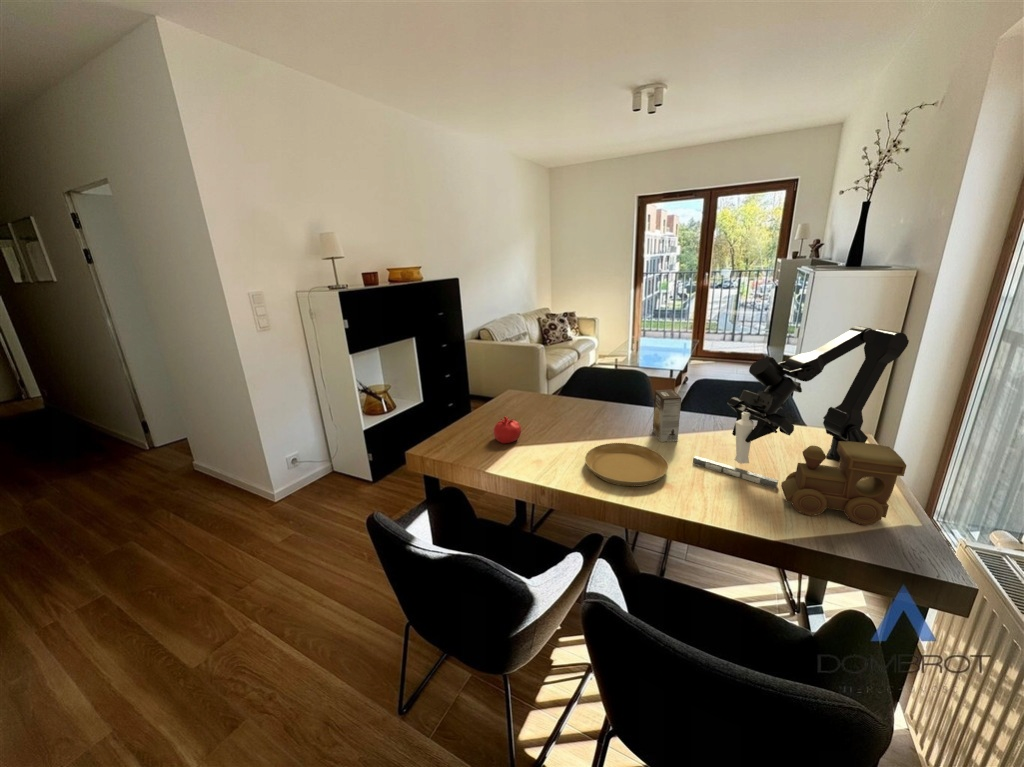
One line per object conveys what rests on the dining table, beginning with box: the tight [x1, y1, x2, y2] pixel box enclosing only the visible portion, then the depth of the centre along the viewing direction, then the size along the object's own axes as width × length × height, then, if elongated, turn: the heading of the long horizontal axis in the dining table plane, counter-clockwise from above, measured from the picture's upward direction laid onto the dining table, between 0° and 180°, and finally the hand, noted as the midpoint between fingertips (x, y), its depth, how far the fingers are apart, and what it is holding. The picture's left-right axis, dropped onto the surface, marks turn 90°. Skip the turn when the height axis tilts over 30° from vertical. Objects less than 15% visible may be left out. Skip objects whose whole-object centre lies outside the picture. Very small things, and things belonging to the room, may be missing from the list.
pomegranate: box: [493, 416, 522, 444], centre depth 145 cm, size 10×10×9 cm
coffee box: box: [652, 388, 682, 442], centre depth 140 cm, size 9×6×16 cm
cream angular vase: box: [734, 412, 755, 464], centre depth 116 cm, size 5×4×15 cm
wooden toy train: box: [780, 441, 908, 526], centre depth 97 cm, size 20×11×17 cm, turn 66°
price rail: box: [692, 455, 779, 490], centre depth 116 cm, size 2×22×2 cm, turn 45°
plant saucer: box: [584, 442, 669, 487], centre depth 122 cm, size 24×24×3 cm
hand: (739, 438), depth 115 cm, fingers closed on cream angular vase, 4 cm apart
